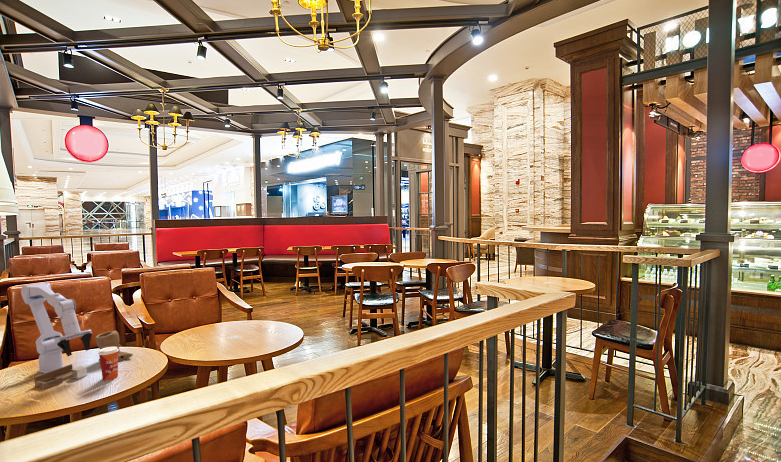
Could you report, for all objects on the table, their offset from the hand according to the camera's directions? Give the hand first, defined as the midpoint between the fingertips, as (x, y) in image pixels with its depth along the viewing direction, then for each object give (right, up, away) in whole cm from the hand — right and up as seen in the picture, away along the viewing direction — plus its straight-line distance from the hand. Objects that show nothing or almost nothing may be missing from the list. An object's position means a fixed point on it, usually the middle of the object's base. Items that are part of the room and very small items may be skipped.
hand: (79, 352), depth 179 cm
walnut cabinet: (-5, -12, -4) cm, 14 cm away
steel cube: (0, -11, 0) cm, 11 cm away
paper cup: (+16, -12, -1) cm, 20 cm away
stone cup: (+1, -11, +21) cm, 24 cm away
